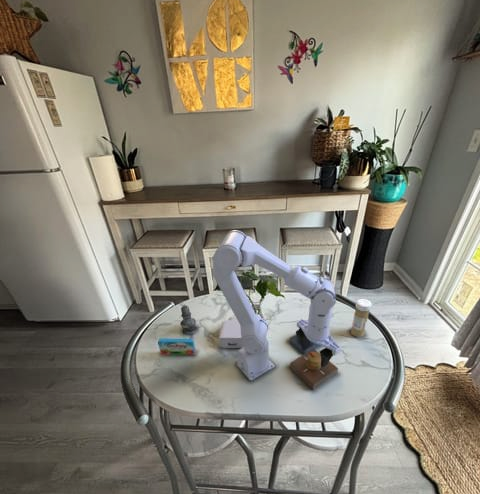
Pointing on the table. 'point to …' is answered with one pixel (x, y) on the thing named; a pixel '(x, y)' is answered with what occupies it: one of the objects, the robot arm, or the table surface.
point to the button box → (297, 344)
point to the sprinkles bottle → (360, 317)
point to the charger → (230, 334)
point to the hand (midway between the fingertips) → (314, 356)
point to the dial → (314, 361)
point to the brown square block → (312, 371)
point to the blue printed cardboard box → (177, 346)
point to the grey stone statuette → (187, 321)
